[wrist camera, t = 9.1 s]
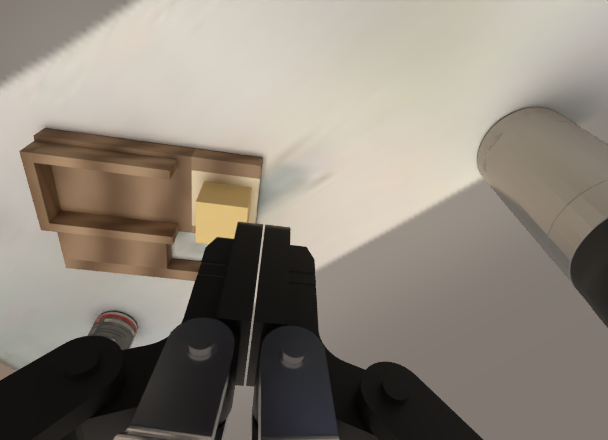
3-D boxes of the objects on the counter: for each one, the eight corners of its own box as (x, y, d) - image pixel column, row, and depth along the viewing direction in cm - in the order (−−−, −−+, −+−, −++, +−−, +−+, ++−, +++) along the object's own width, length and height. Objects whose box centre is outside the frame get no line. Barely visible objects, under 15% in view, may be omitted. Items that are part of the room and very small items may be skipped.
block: (251, 187, 41) (247, 207, 38) (248, 225, 44) (244, 247, 41) (203, 181, 41) (195, 201, 37) (203, 220, 43) (195, 242, 40)
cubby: (176, 159, 39) (169, 170, 37) (178, 231, 44) (172, 244, 42) (34, 140, 38) (19, 151, 36) (53, 216, 43) (41, 230, 41)
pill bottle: (95, 307, 54) (59, 371, 45) (138, 313, 54) (110, 377, 46) (98, 334, 57) (64, 398, 49) (138, 339, 58) (112, 403, 49)
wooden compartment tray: (262, 157, 41) (261, 166, 40) (250, 275, 51) (248, 286, 49) (44, 128, 39) (33, 135, 37) (74, 257, 49) (66, 267, 47)
